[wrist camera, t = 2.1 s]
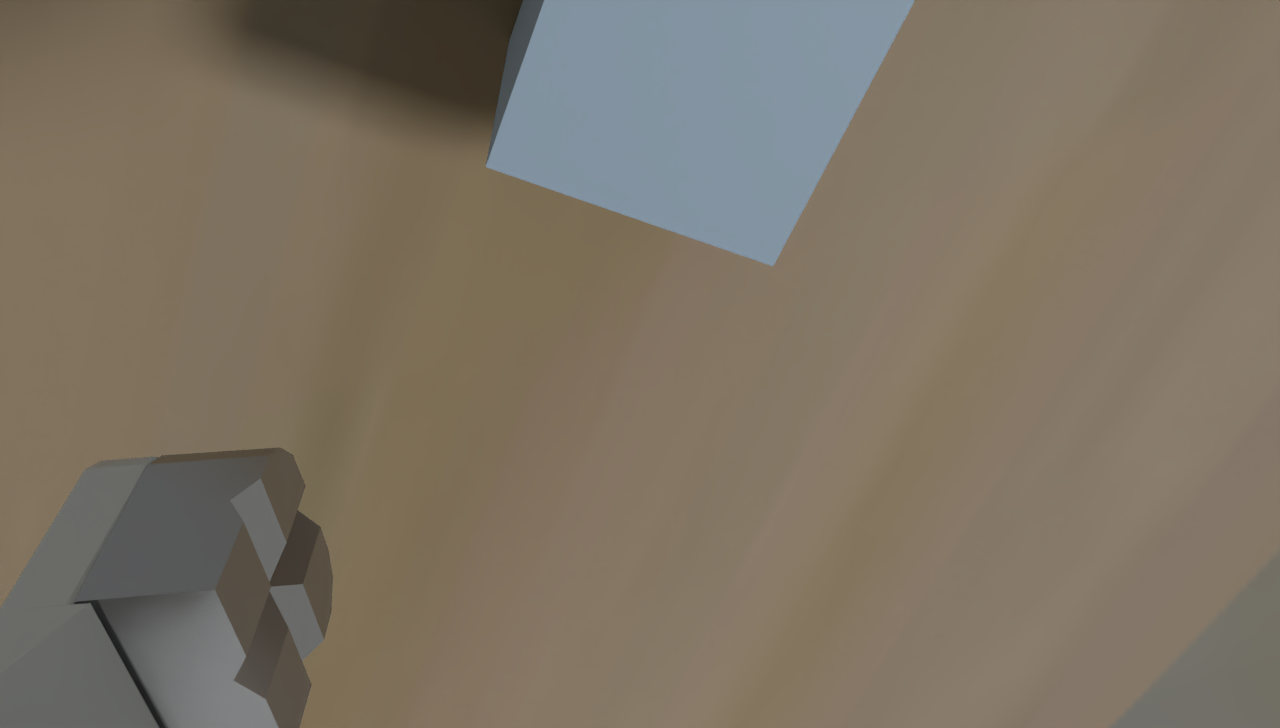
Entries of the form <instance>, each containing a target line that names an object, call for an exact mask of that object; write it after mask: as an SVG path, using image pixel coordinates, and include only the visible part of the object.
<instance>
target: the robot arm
mask: <svg viewBox="0 0 1280 728" xmlns="http://www.w3.org/2000/svg"><path fill="white" fill-rule="evenodd" d="M304 489H305V483H304V481H303V479H302V476H301V474H300V471H299V469H298V466H297V464H296V462H295V459H294V457H293V455H292V454H291V453H289V452H287V451H285V450H284V449H282V448H266V449H251V450H236V451H221V452H207V453H192V454H177V455H162V456H160V457H142V458H130V459H117V460H105V461H100V462H98V463H96V464H94V465H92V466H91V467H89V468H87V469H85V471H84V472H83V474H82V475H81V477H80V478H79V480H78V482H77V483H76V485H75V487H74V488H73V490H72V492H71V493H70V495H69V497H68V498H67V500H66V501H65V503H64V505H63V506H62V508H61V510H60V511H59V513H58V515H57V516H56V518H55V520H54V521H53V523H52V524H51V526H50V528H49V529H48V531H47V533H46V534H45V536H44V538H43V539H42V541H41V543H40V544H39V546H38V547H37V549H36V551H35V552H34V554H33V556H32V557H31V559H30V561H29V562H28V564H27V566H26V567H25V569H24V570H23V572H22V574H21V575H20V577H19V579H18V580H17V582H16V584H15V585H14V587H13V588H12V590H11V592H10V593H9V595H8V597H7V598H6V600H5V602H4V603H3V605H2V607H1V608H0V728H299V726H300V723H301V719H302V716H303V713H304V709H305V706H306V702H307V699H308V695H309V692H310V688H311V682H310V680H309V677H308V675H307V672H306V670H305V667H304V665H303V662H302V660H303V659H304V658H305V657H306V656H307V655H308V654H310V653H311V652H312V651H313V650H314V649H315V648H316V647H317V646H318V645H319V644H320V643H321V642H322V641H323V640H324V638H325V634H326V630H327V626H328V623H329V619H330V615H331V610H332V584H333V575H332V569H331V563H330V557H329V551H328V547H327V544H326V541H325V539H324V536H323V533H322V530H321V527H320V526H318V525H317V524H316V523H314V522H313V521H312V520H310V519H309V518H307V517H306V516H305V515H303V514H302V513H301V512H299V511H298V507H299V504H300V501H301V498H302V495H303V492H304Z"/></svg>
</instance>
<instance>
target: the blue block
mask: <svg viewBox="0 0 1280 728" xmlns="http://www.w3.org/2000/svg"><path fill="white" fill-rule="evenodd" d="M914 1H915V0H523V2H522V5H521V8H520V11H519V14H518V17H517V19H516V22H515V25H514V28H513V31H512V34H511V37H510V40H509V45H508V50H507V55H506V61H505V66H504V71H503V77H502V82H501V87H500V93H499V98H498V103H497V109H496V114H495V120H494V125H493V130H492V136H491V141H490V146H489V152H488V157H487V162H486V167H487V168H490V169H493V170H496V171H499V172H502V173H504V174H507V175H510V176H513V177H516V178H519V179H522V180H525V181H528V182H530V183H533V184H536V185H539V186H542V187H545V188H548V189H551V190H554V191H556V192H559V193H562V194H565V195H568V196H571V197H574V198H577V199H580V200H583V201H585V202H588V203H591V204H594V205H597V206H600V207H603V208H606V209H609V210H611V211H614V212H617V213H620V214H623V215H626V216H629V217H632V218H635V219H638V220H640V221H643V222H646V223H649V224H652V225H655V226H658V227H661V228H664V229H666V230H669V231H672V232H675V233H678V234H681V235H684V236H687V237H690V238H692V239H695V240H698V241H701V242H704V243H707V244H710V245H713V246H716V247H719V248H721V249H724V250H727V251H730V252H733V253H736V254H739V255H742V256H745V257H747V258H750V259H753V260H756V261H759V262H762V263H765V264H768V265H771V266H773V265H774V264H775V262H776V260H777V258H778V256H779V254H780V252H781V250H782V249H783V247H784V245H785V243H786V241H787V239H788V237H789V235H790V234H791V232H792V230H793V228H794V226H795V224H796V222H797V220H798V219H799V217H800V215H801V213H802V211H803V209H804V207H805V205H806V204H807V202H808V200H809V198H810V196H811V194H812V192H813V190H814V189H815V187H816V185H817V183H818V181H819V179H820V177H821V175H822V174H823V172H824V170H825V168H826V166H827V164H828V162H829V160H830V159H831V157H832V155H833V153H834V151H835V149H836V147H837V145H838V144H839V142H840V140H841V138H842V136H843V134H844V132H845V130H846V129H847V127H848V125H849V123H850V121H851V119H852V117H853V115H854V114H855V112H856V110H857V108H858V106H859V104H860V102H861V100H862V99H863V97H864V95H865V93H866V91H867V89H868V87H869V85H870V83H871V82H872V80H873V78H874V76H875V74H876V72H877V70H878V68H879V67H880V65H881V63H882V61H883V59H884V57H885V55H886V53H887V52H888V50H889V48H890V46H891V44H892V42H893V40H894V38H895V37H896V35H897V33H898V31H899V29H900V27H901V25H902V23H903V22H904V20H905V18H906V16H907V14H908V12H909V10H910V8H911V7H912V5H913V3H914Z"/></svg>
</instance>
